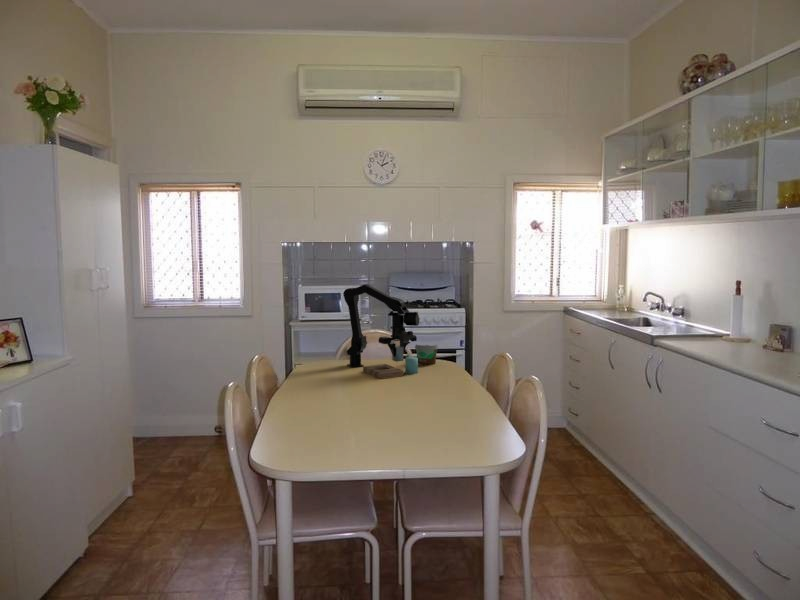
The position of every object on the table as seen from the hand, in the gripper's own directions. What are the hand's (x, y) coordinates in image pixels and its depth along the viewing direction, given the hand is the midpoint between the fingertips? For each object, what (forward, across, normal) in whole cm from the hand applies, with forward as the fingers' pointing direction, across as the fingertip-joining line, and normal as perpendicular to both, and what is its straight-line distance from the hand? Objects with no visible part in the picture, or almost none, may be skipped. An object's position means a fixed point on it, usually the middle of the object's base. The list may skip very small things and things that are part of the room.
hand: (397, 356), depth 277 cm
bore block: (+6, -11, -5) cm, 14 cm away
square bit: (+2, 0, 0) cm, 2 cm away
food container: (+7, +18, +3) cm, 19 cm away
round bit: (+6, +2, -10) cm, 12 cm away
